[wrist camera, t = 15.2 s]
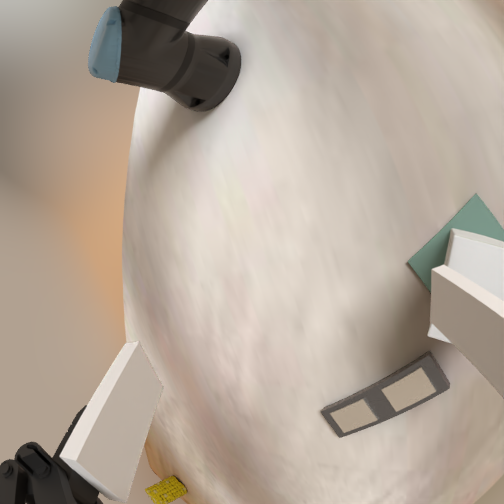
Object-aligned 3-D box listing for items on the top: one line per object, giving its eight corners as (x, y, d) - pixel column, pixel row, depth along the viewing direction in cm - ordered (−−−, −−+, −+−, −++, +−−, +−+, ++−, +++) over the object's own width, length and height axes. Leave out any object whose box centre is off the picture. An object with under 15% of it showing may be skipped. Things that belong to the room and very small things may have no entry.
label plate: (324, 407, 36) (319, 412, 35) (429, 350, 26) (428, 356, 25) (343, 433, 34) (338, 438, 33) (450, 383, 24) (449, 389, 23)
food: (194, 491, 74) (184, 487, 80) (172, 472, 75) (164, 469, 81) (168, 514, 62) (160, 508, 68) (145, 495, 63) (138, 490, 69)
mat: (408, 260, 28) (407, 261, 27) (475, 193, 22) (476, 193, 21) (459, 336, 24) (459, 337, 23) (530, 274, 18) (531, 275, 17)
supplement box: (450, 226, 24) (453, 229, 14) (509, 242, 19) (545, 257, 10) (434, 293, 25) (423, 337, 16) (491, 310, 21) (509, 364, 11)
